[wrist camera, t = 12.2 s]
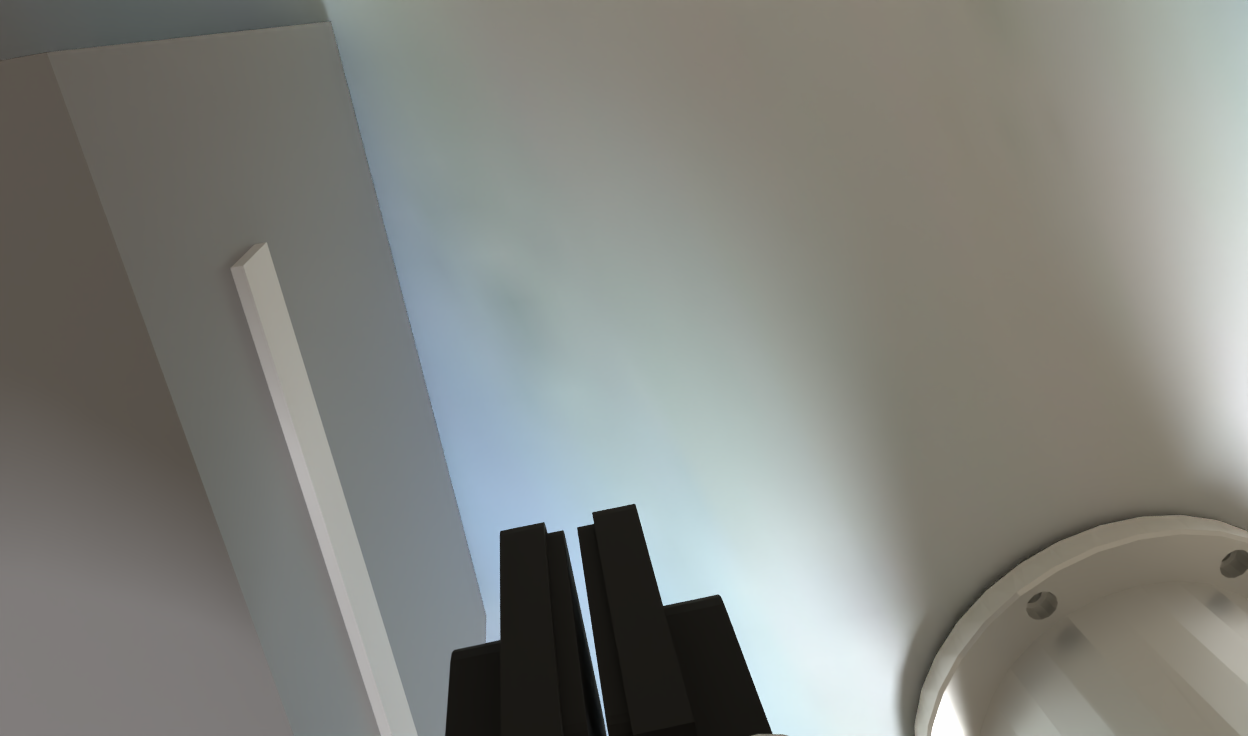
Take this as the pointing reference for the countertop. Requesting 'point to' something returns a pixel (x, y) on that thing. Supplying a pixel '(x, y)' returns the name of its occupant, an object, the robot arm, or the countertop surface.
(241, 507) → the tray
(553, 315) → the countertop surface
